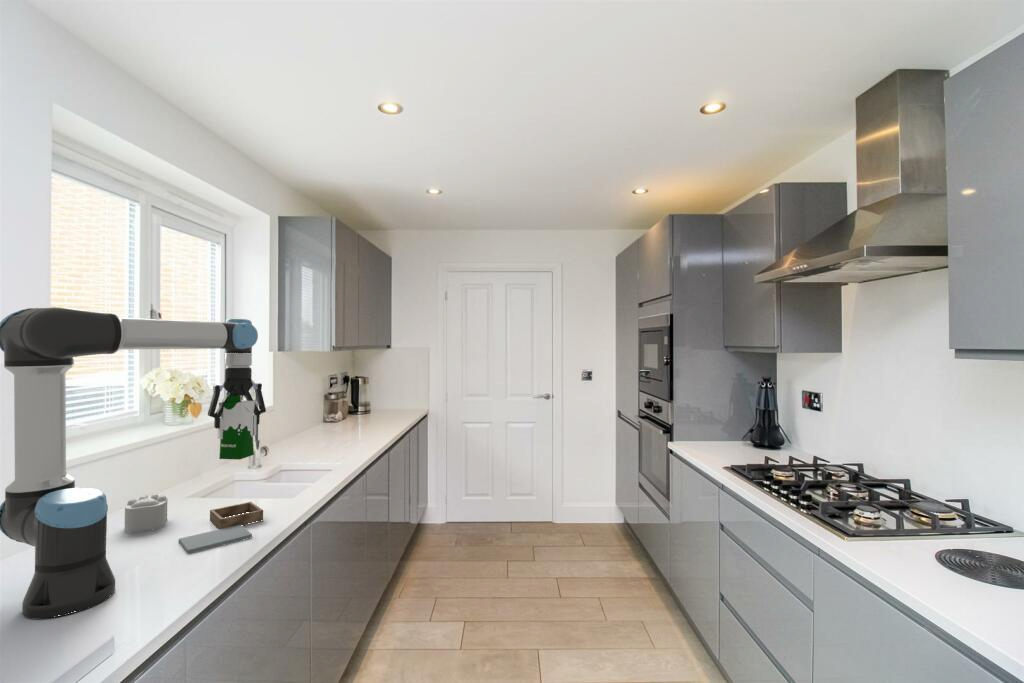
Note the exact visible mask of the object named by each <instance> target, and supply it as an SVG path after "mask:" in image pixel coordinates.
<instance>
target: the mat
mask: <svg viewBox="0 0 1024 683" xmlns="http://www.w3.org/2000/svg"><path fill="white" fill-rule="evenodd" d="M250 537H252V538H253V533H251V532H250V531H249V530H248V529H246V527H244V526H241V525H236V526H232V527H227V528H223V529H215V530H211V531H206V532H202V533H197V534H194V535H189V536H183V537H181V538H178V544H180V546H181V547H182V548H183V549H184V551H185V552H186V553H187V555H189V554H193V553H196V552H200V551H205V550H209V549H212V548H216V547H220V546H224V544H225V545H228V543H229V544H231V542H233V543H236V542H235V541H237V542H240V540H241V541H244V540H243V539H245V540H247V539H246V538H249V539H251V538H250Z"/></svg>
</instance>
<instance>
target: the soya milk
mask: <svg viewBox="0 0 1024 683" xmlns="http://www.w3.org/2000/svg"><path fill="white" fill-rule="evenodd" d="M241 397H242V396H241V395H237V396H226V402H225V403H224V402H222V401H220V402H219V401H218V408H219V407H221V406H222V404H223V403H224V409H223V413H222V415H221V418H223V439H219V440H220V441H219V442H220V443H219V460H243V459H246V458H248V457H251V456H254V455H255V452H254V451H255V450H254V448H255V447H254V435H253V415H254V413H253V412H254V407H255V404H256V402H257V399H256V400H254V399H253V400H254V401H247V400H246V399H242V398H241ZM254 402H255V403H254Z"/></svg>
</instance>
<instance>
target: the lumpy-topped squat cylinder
mask: <svg viewBox="0 0 1024 683" xmlns="http://www.w3.org/2000/svg"><path fill="white" fill-rule="evenodd" d="M166 522H167V523H168V498H167V496H166V495H164V494H163V495H158V494H157V493H153V494H151V495H150V496H149V495H146V494H143V495H141V496H140V497H138V498H130V499H129V500H128V501H127V504H126V505H125V507H124V533H126V532H134V533H139V532H138V531H140V532H145V531H146V530H147V531H153V530H152V529H154V530H158V529H160V528H163V527H165V525H167V523H166ZM157 528H158V529H157ZM144 530H145V531H144Z"/></svg>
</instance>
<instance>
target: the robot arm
mask: <svg viewBox="0 0 1024 683" xmlns="http://www.w3.org/2000/svg"><path fill="white" fill-rule="evenodd" d="M258 336H259V334H258V330H257V329H256V327H255V326H254V325H253V323H252V321H251V320H250V319H247V318H246V319H245V318H244V319H243V318H227V319H226V320H225V322H222V321H221V322H220V321H218V322H217V321H199V320H198V321H196V320H176V319H174V320H173V319H171V320H170V319H152V318H151V319H150V318H133V317H132V318H129V317H127V318H126V317H125V318H124V317H119V316H118V315H117V314H116V313H113V312H110V313H109V312H98V311H97V312H96V311H88V310H82V309H77V308H76V309H75V308H67V307H61V306H60V307H57V306H55V307H35V308H34V307H32V308H31V307H29V308H25V309H21V310H18V311H14V312H12V313H9V315H7V316H5V317H4V318H3V319H2V320H1V321H0V350H1V351H2V352H3V358H4V360H3V363H4V366H3V367H4V369H6V370H7V371H9V372H10V373H11V374H13V397H14V398H13V403H14V406H13V407H14V409H13V410H14V411H13V412H14V413H13V414H14V415H13V416H14V417H13V418H14V424H13V425H14V431H13V432H14V480H13V481H12V482H11V483H9V484H8V486H6V487H5V491H4V497H5V498H4V499H5V500H4V501H3V502H2V503H1V504H0V532H1V533H2V534H3V535H5V536H6V537H7V538H9V539H10V540H13V541H15V542H18V543H23V544H26V545H29V546H31V547H34V573H33V576H32V578H31V581H30V584H29V586H28V588H27V591H26V594H25V596H24V598H23V600H22V605H21V606H22V608H21V610H22V612H21V613H22V616H23V615H24V616H23V617H25V616H26V617H25V618H27V617H29V618H28V619H32V618H45V619H49V618H48V617H53V618H55V617H54V616H58V615H64V616H66V615H65V614H68V613H71V612H74V611H78V612H80V611H79V610H82V609H84V610H87V609H89V608H88V607H90V608H92V607H94V606H96V604H97V605H99V604H100V602H101V603H102V602H105V601H106V600H107V599H109V598H110V597H111V596H113V594H115V592H114V591H116V579H115V575H114V573H113V571H112V569H111V566H110V564H109V562H108V560H107V530H108V528H107V527H108V523H107V522H108V510H109V506H108V501H107V500H108V499H107V496H106V494H105V493H104V492H103V491H102V490H101V489H97V488H93V487H86V488H85V487H84V488H83V487H75V486H76V482H75V481H76V480H75V477H74V476H72V475H70V474H69V473H67V447H66V446H67V445H66V444H67V438H66V436H67V435H66V434H67V422H66V419H67V418H66V416H67V414H66V412H67V409H66V408H67V406H66V400H67V399H66V398H67V397H66V395H67V394H66V373H67V372H68V371H69V370H70V369H71V368H73V367H74V366H75V358H77V357H78V358H79V357H85V356H95V355H96V356H97V355H113V354H116V353H117V352H118V351H119V350H201V349H204V350H205V349H206V350H207V349H209V350H211V349H212V350H213V349H218V350H219V349H221V350H222V349H224V351H225V352H224V353H225V355H224V356H225V359H224V361H225V364H224V365H225V366H226V367H225V369H224V382H223V383H222V384H213V387H212V388H213V389H212V390H213V394H212V397H211V400H210V403H209V408H208V411H207V416H209V417H210V418H213V419H214V425H213V426H214V428H215V429H216V430H217V439H219V440H220V439H223V418H221V415H222V413H223V409H224V403H225V402H226V396H237V395H241V397H244V398H245V400H247V401H254V398H253V397H252V394H251V392H250V390H252V388H253V390H254V393H255V396H256V402H257V404H258V406H257V405H256V403H255V402H254V403H255V407H254V412H253V436H257V425H260V417H261V414H263V413H266V411H267V408H266V405H265V401H264V397H263V392H262V388H263V384H262V383H261V382H256V383H255V382H253V381H252V375H253V374H252V373H253V372H252V371H253V370H252V368H251V366H252V365H253V364H252V363H253V361H252V360H253V357H252V356H253V347H254V346H255V345H256V344H257V341H258ZM223 389H224V390H225V391H226V393H225V395H224V397H223V399H222V401H221V402H224V403H223V404H222V406H221V407H219V406H218V404H219V399H220V395H221V392H222V391H223ZM217 406H218V408H217ZM110 595H111V596H110ZM109 596H110V597H109ZM108 597H109V598H108ZM105 599H106V600H105ZM98 603H99V604H98ZM86 608H87V609H86ZM82 611H83V610H82ZM68 615H69V614H68Z"/></svg>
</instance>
